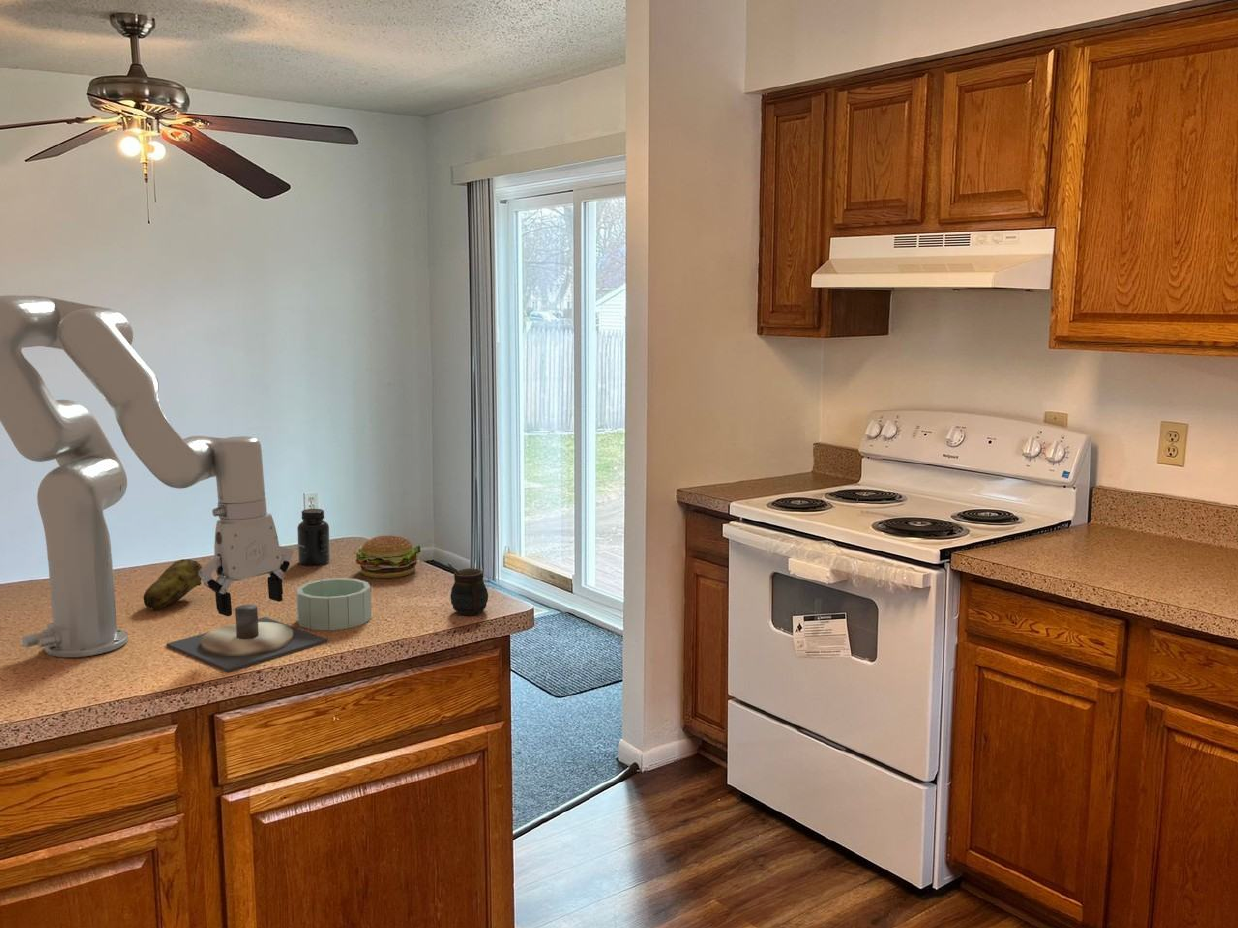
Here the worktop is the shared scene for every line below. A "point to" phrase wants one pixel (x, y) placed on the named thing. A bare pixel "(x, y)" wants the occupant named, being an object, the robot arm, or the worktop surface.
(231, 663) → the mat
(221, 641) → the lid
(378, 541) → the food
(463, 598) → the mate gourd
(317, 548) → the supplement bottle
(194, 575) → the potato
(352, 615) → the bowl
